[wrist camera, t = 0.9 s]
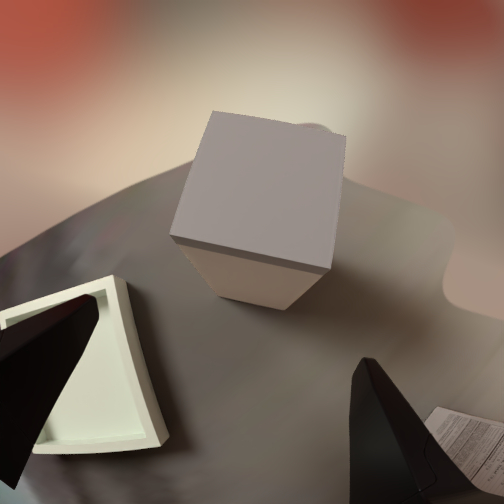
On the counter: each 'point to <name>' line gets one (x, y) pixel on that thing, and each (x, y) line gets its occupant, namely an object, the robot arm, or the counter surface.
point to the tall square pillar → (261, 208)
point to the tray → (101, 380)
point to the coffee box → (471, 446)
